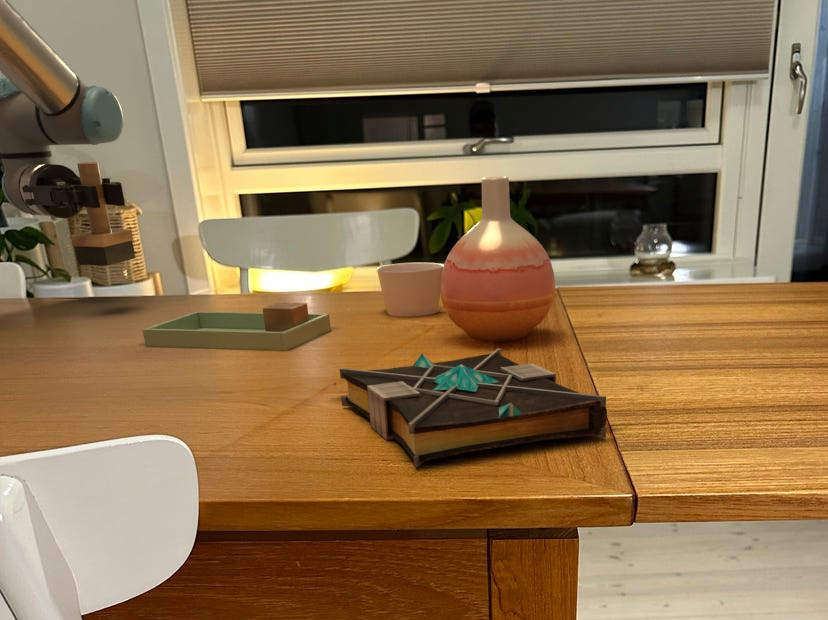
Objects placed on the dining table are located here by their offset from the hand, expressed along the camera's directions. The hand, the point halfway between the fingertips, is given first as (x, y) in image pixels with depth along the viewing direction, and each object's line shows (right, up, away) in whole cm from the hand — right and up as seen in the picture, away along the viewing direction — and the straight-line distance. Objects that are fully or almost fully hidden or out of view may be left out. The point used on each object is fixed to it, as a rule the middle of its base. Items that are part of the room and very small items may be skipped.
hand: (108, 196), depth 132 cm
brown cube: (+28, -25, -15) cm, 40 cm away
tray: (+22, -24, -13) cm, 35 cm away
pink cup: (+42, -17, 0) cm, 46 cm away
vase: (+54, -25, -16) cm, 61 cm away
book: (+50, -42, -48) cm, 81 cm away
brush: (-3, -6, +8) cm, 11 cm away
